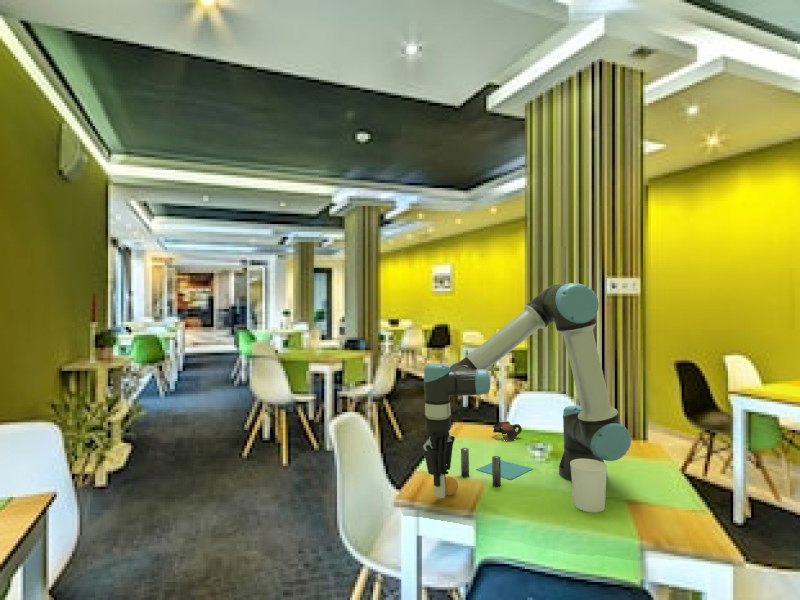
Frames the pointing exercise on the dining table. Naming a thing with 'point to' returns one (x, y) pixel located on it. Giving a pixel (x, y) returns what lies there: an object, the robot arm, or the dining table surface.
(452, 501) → the dining table surface
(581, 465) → the candle holder
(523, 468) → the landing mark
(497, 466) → the right post
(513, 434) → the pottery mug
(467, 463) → the left post
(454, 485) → the ball
